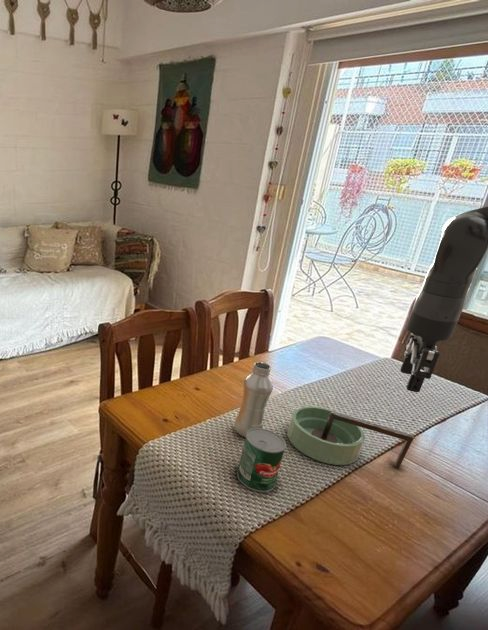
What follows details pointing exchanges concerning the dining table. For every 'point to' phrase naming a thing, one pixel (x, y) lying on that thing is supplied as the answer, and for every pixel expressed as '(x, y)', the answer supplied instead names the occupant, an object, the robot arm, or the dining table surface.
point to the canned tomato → (261, 459)
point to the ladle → (330, 437)
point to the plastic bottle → (254, 399)
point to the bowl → (322, 450)
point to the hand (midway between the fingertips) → (408, 381)
